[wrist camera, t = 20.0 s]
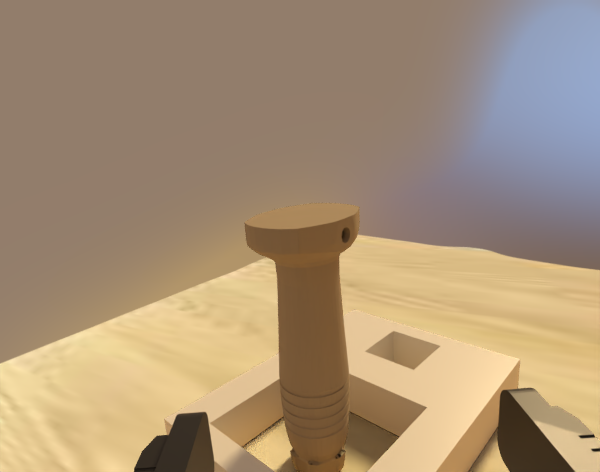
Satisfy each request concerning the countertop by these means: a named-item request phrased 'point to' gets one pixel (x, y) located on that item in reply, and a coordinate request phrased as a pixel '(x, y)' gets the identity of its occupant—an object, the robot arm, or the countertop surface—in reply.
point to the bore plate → (379, 398)
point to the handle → (310, 325)
